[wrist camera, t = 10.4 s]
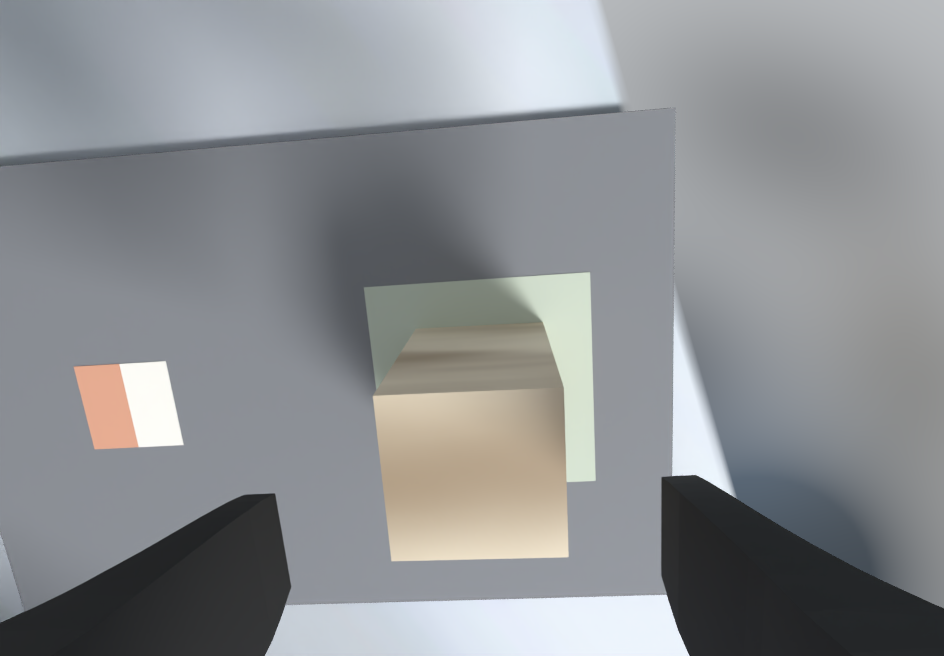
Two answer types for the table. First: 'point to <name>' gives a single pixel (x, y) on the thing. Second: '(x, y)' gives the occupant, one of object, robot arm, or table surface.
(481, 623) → the table surface
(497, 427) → the birch block
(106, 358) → the mat
